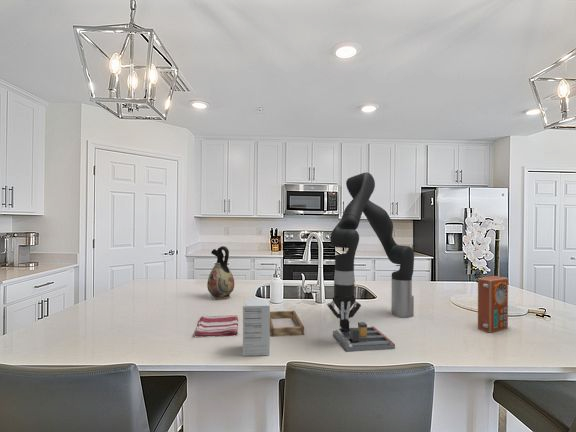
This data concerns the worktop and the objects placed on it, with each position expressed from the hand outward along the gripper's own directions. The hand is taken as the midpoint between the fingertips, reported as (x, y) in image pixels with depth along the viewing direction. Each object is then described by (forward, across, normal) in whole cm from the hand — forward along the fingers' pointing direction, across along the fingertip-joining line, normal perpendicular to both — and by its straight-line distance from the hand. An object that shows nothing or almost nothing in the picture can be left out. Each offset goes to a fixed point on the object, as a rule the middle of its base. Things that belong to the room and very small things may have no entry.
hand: (343, 328), depth 122 cm
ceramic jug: (+6, +49, -73) cm, 88 cm away
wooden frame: (+5, +20, -21) cm, 29 cm away
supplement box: (+6, +33, +3) cm, 33 cm away
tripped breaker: (+3, -7, 0) cm, 8 cm away
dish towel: (+6, +48, -24) cm, 54 cm away
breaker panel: (+5, -7, 0) cm, 9 cm away
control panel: (+5, -67, -6) cm, 68 cm away
